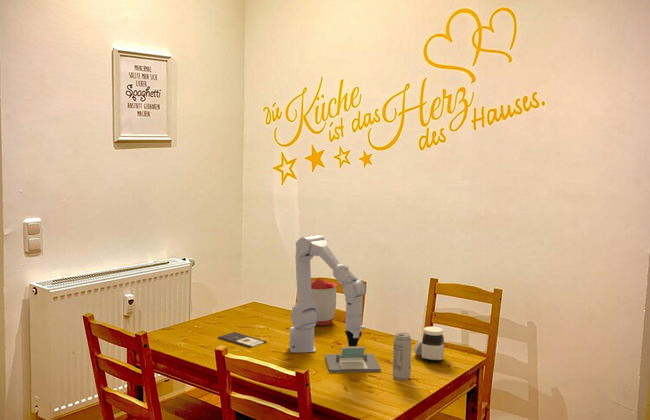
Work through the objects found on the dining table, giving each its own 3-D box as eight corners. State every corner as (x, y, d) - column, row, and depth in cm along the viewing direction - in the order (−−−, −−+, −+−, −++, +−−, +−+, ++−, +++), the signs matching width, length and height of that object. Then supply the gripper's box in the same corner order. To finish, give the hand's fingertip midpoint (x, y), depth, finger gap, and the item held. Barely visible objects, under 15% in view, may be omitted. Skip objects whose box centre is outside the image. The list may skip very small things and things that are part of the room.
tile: (340, 354, 236) (340, 356, 236) (342, 346, 231) (342, 348, 230) (362, 354, 237) (362, 356, 237) (365, 346, 232) (365, 348, 231)
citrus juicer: (295, 317, 294) (296, 273, 292) (334, 317, 296) (334, 273, 294) (297, 328, 279) (298, 281, 276) (338, 327, 281) (339, 281, 278)
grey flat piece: (329, 372, 227) (329, 364, 227) (324, 357, 243) (325, 349, 242) (380, 371, 229) (381, 363, 228) (373, 356, 244) (373, 348, 244)
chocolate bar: (234, 331, 270) (266, 341, 258) (234, 334, 270) (266, 343, 259) (217, 337, 263) (249, 346, 252) (217, 339, 263) (249, 349, 252)
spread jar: (440, 365, 236) (441, 334, 235) (409, 361, 240) (410, 330, 238) (446, 355, 247) (447, 325, 246) (416, 351, 251) (417, 321, 250)
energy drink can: (413, 379, 222) (415, 336, 220) (397, 382, 219) (398, 338, 218) (405, 373, 227) (406, 331, 225) (389, 375, 225) (390, 333, 223)
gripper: (368, 320, 226) (366, 358, 228) (361, 308, 240) (360, 344, 242) (348, 320, 225) (346, 358, 227) (342, 308, 239) (341, 344, 241)
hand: (352, 351), depth 234 cm, fingers closed, pressing on tile
